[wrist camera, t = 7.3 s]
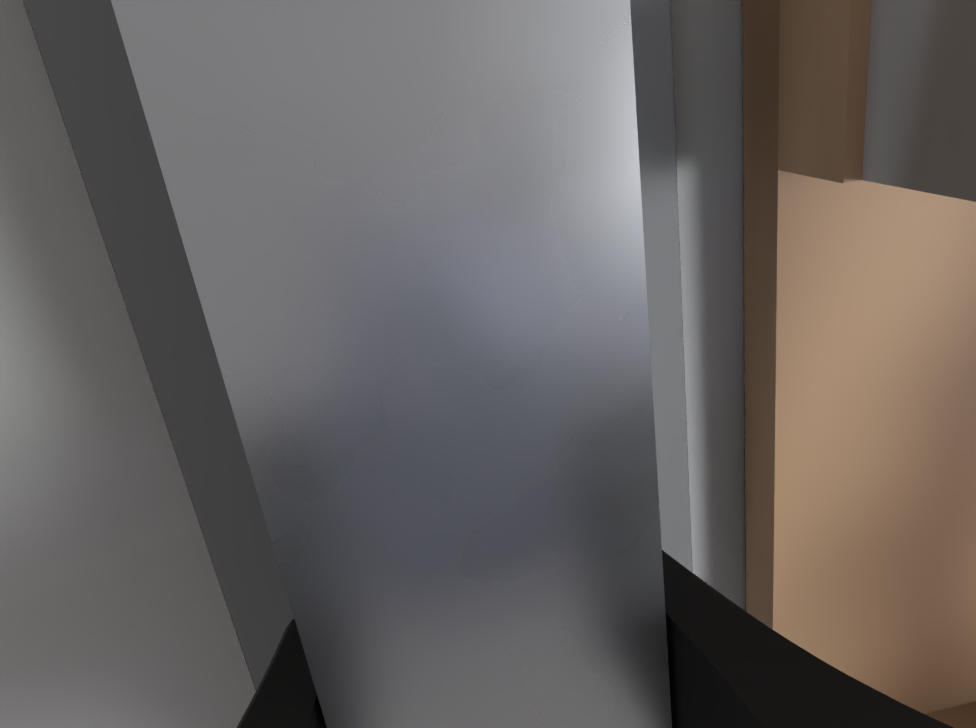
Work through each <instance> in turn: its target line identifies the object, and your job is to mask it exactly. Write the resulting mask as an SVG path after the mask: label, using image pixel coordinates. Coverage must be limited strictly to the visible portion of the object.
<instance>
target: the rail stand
mask: <svg viewBox="0 0 976 728" xmlns="http://www.w3.org/2000/svg"><path fill="white" fill-rule="evenodd" d="M742 16H743V180H744V344H745V508H746V612H748V613H749V614H751V615H752V616H753V617H755V618H756V619H758V620H759V621H761V622H762V623H764V624H765V625H766V626H768V627H770V628H771V629H773V630H774V631H776V632H777V633H779V634H780V635H782V636H783V637H785V638H786V639H788V640H790V641H791V642H793V643H794V644H796V645H798V646H799V647H801V648H803V649H804V650H806V651H808V652H809V653H811V654H812V655H814V656H816V657H817V658H819V659H821V660H822V661H824V662H826V663H827V664H829V665H831V666H833V667H835V668H836V669H838V670H840V671H842V672H843V673H845V674H847V675H849V676H851V677H853V678H854V679H856V680H858V681H860V682H862V683H864V684H866V685H868V686H870V687H872V688H874V689H875V690H877V691H879V692H881V693H883V694H885V695H887V696H889V697H891V698H893V699H895V700H896V701H898V702H900V703H902V704H904V705H906V706H909V707H911V708H913V709H915V710H917V711H919V712H921V713H923V714H925V715H927V716H929V717H932V718H934V719H936V720H938V721H940V722H943V723H945V724H947V725H949V726H952V727H954V728H976V0H742Z"/></svg>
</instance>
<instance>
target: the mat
mask: <svg viewBox="0 0 976 728" xmlns="http://www.w3.org/2000/svg"><path fill="white" fill-rule="evenodd" d="M23 2H24V5H25V8H26V11H27V14H28V17H29V20H30V23H31V26H32V29H33V32H34V35H35V38H36V41H37V44H38V47H39V50H40V53H41V55H42V58H43V61H44V64H45V67H46V70H47V73H48V76H49V79H50V82H51V85H52V88H53V91H54V94H55V97H56V100H57V103H58V106H59V109H60V112H61V115H62V118H63V121H64V124H65V127H66V130H67V133H68V136H69V138H70V141H71V144H72V147H73V150H74V153H75V156H76V159H77V162H78V165H79V168H80V171H81V174H82V177H83V180H84V183H85V186H86V189H87V192H88V195H89V198H90V201H91V204H92V207H93V210H94V213H95V216H96V218H97V221H98V224H99V227H100V230H101V233H102V236H103V239H104V242H105V245H106V248H107V251H108V254H109V257H110V260H111V263H112V266H113V269H114V272H115V275H116V278H117V281H118V284H119V287H120V290H121V293H122V296H123V299H124V301H125V304H126V307H127V310H128V313H129V316H130V319H131V322H132V325H133V328H134V331H135V334H136V337H137V340H138V343H139V346H140V349H141V352H142V355H143V358H144V361H145V364H146V367H147V370H148V373H149V376H150V379H151V381H152V384H153V387H154V390H155V393H156V396H157V399H158V402H159V405H160V408H161V411H162V414H163V417H164V420H165V423H166V426H167V429H168V432H169V435H170V438H171V441H172V444H173V447H174V450H175V453H176V456H177V459H178V462H179V464H180V467H181V470H182V473H183V476H184V479H185V482H186V485H187V488H188V491H189V494H190V497H191V500H192V503H193V506H194V509H195V512H196V515H197V518H198V521H199V524H200V527H201V530H202V533H203V536H204V539H205V542H206V544H207V547H208V550H209V553H210V556H211V559H212V562H213V565H214V568H215V571H216V574H217V577H218V580H219V583H220V586H221V589H222V592H223V595H224V598H225V601H226V604H227V607H228V610H229V613H230V616H231V619H232V622H233V625H234V627H235V630H236V633H237V636H238V639H239V642H240V645H241V648H242V651H243V654H244V657H245V660H246V663H247V666H248V669H249V672H250V675H251V678H252V681H253V684H254V687H255V690H256V691H257V689H258V687H259V685H260V683H261V681H262V679H263V677H264V675H265V672H266V670H267V668H268V666H269V664H270V662H271V660H272V658H273V656H274V653H275V651H276V649H277V647H278V645H279V643H280V640H281V638H282V636H283V634H284V631H285V629H286V627H287V626H288V625H289V623H290V622H291V621H292V620H293V619H294V615H293V612H292V609H291V605H290V602H289V599H288V595H287V592H286V589H285V585H284V582H283V578H282V575H281V572H280V568H279V565H278V562H277V558H276V555H275V551H274V548H273V545H272V541H271V538H270V535H269V531H268V528H267V525H266V521H265V518H264V514H263V511H262V508H261V504H260V501H259V498H258V494H257V491H256V488H255V484H254V481H253V477H252V474H251V471H250V467H249V464H248V461H247V457H246V454H245V450H244V447H243V444H242V440H241V437H240V434H239V430H238V427H237V424H236V420H235V417H234V413H233V410H232V407H231V403H230V400H229V397H228V393H227V390H226V386H225V383H224V380H223V376H222V373H221V370H220V366H219V363H218V360H217V356H216V353H215V349H214V346H213V343H212V339H211V336H210V333H209V329H208V326H207V323H206V319H205V316H204V312H203V309H202V306H201V302H200V299H199V296H198V292H197V289H196V285H195V282H194V279H193V275H192V272H191V269H190V265H189V262H188V259H187V255H186V252H185V248H184V245H183V242H182V238H181V235H180V232H179V228H178V225H177V221H176V218H175V215H174V211H173V208H172V205H171V201H170V198H169V195H168V191H167V188H166V184H165V181H164V178H163V174H162V171H161V168H160V164H159V161H158V158H157V154H156V151H155V147H154V144H153V141H152V137H151V134H150V131H149V127H148V124H147V120H146V117H145V114H144V110H143V107H142V104H141V100H140V97H139V94H138V90H137V87H136V83H135V80H134V77H133V73H132V70H131V67H130V63H129V60H128V56H127V53H126V50H125V46H124V43H123V40H122V36H121V33H120V30H119V26H118V23H117V19H116V16H115V13H114V9H113V6H112V3H111V0H23ZM630 9H631V26H632V43H633V60H634V78H635V95H636V112H637V130H638V147H639V164H640V181H641V199H642V216H643V233H644V250H645V268H646V285H647V302H648V320H649V337H650V354H651V371H652V389H653V406H654V423H655V440H656V458H657V475H658V492H659V510H660V527H661V544H662V550H663V551H664V552H666V553H667V554H668V555H670V556H671V557H672V558H674V559H675V560H676V561H678V562H679V563H680V564H681V565H683V566H684V567H685V568H687V569H688V570H689V571H691V572H692V548H691V522H690V497H689V472H688V446H687V421H686V396H685V370H684V345H683V320H682V294H681V269H680V244H679V218H678V193H677V168H676V142H675V117H674V92H673V66H672V41H671V16H670V0H630Z"/></svg>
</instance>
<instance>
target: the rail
mask: <svg viewBox="0 0 976 728" xmlns="http://www.w3.org/2000/svg"><path fill="white" fill-rule="evenodd" d="M111 3H112V6H113V9H114V13H115V16H116V19H117V23H118V26H119V30H120V33H121V36H122V40H123V43H124V46H125V50H126V53H127V56H128V60H129V63H130V67H131V70H132V73H133V77H134V80H135V83H136V87H137V90H138V94H139V97H140V100H141V104H142V107H143V110H144V114H145V117H146V120H147V124H148V127H149V131H150V134H151V137H152V141H153V144H154V147H155V151H156V154H157V158H158V161H159V164H160V168H161V171H162V174H163V178H164V181H165V184H166V188H167V191H168V195H169V198H170V201H171V205H172V208H173V211H174V215H175V218H176V221H177V225H178V228H179V232H180V235H181V238H182V242H183V245H184V248H185V252H186V255H187V259H188V262H189V265H190V269H191V272H192V275H193V279H194V282H195V285H196V289H197V292H198V296H199V299H200V302H201V306H202V309H203V312H204V316H205V319H206V323H207V326H208V329H209V333H210V336H211V339H212V343H213V346H214V349H215V353H216V356H217V360H218V363H219V366H220V370H221V373H222V376H223V380H224V383H225V386H226V390H227V393H228V397H229V400H230V403H231V407H232V410H233V413H234V417H235V420H236V424H237V427H238V430H239V434H240V437H241V440H242V444H243V447H244V450H245V454H246V457H247V461H248V464H249V467H250V471H251V474H252V477H253V481H254V484H255V488H256V491H257V494H258V498H259V501H260V504H261V508H262V511H263V514H264V518H265V521H266V525H267V528H268V531H269V535H270V538H271V541H272V545H273V548H274V551H275V555H276V558H277V562H278V565H279V568H280V572H281V575H282V578H283V582H284V585H285V589H286V592H287V595H288V599H289V602H290V605H291V609H292V612H293V615H294V619H295V622H296V626H297V629H298V632H299V636H300V639H301V642H302V646H303V649H304V653H305V656H306V659H307V663H308V666H309V669H310V673H311V676H312V679H313V683H314V686H315V690H316V693H317V696H318V700H319V703H320V706H321V710H322V713H323V716H324V720H325V723H326V727H327V728H672V717H671V700H670V682H669V665H668V648H667V631H666V613H665V596H664V579H663V561H662V544H661V527H660V510H659V492H658V475H657V458H656V440H655V423H654V406H653V389H652V371H651V354H650V337H649V320H648V302H647V285H646V268H645V250H644V233H643V216H642V199H641V181H640V164H639V147H638V130H637V112H636V95H635V78H634V60H633V43H632V26H631V9H630V0H111Z"/></svg>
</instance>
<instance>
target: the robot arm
mask: <svg viewBox="0 0 976 728" xmlns="http://www.w3.org/2000/svg"><path fill="white" fill-rule="evenodd" d="M662 561H663V579H664V596H665V613H666V631H667V648H668V665H669V682H670V700H671V717H672V728H954V727H952V726H949V725H947V724H945V723H943V722H940V721H938V720H936V719H934V718H932V717H929V716H927V715H925V714H923V713H921V712H919V711H917V710H915V709H913V708H911V707H909V706H906V705H904V704H902V703H900V702H898V701H896V700H895V699H893V698H891V697H889V696H887V695H885V694H883V693H881V692H879V691H877V690H875V689H874V688H872V687H870V686H868V685H866V684H864V683H862V682H860V681H858V680H856V679H854V678H853V677H851V676H849V675H847V674H845V673H843V672H842V671H840V670H838V669H836V668H835V667H833V666H831V665H829V664H827V663H826V662H824V661H822V660H821V659H819V658H817V657H816V656H814V655H812V654H811V653H809V652H808V651H806V650H804V649H803V648H801V647H799V646H798V645H796V644H794V643H793V642H791V641H790V640H788V639H786V638H785V637H783V636H782V635H780V634H779V633H777V632H776V631H774V630H773V629H771V628H770V627H768V626H766V625H765V624H764V623H762V622H761V621H759V620H758V619H756V618H755V617H753V616H752V615H751V614H749V613H748V612H746V611H745V610H743V609H742V608H740V607H739V606H737V605H736V604H735V603H733V602H732V601H730V600H729V599H727V598H726V597H725V596H723V595H722V594H720V593H719V592H718V591H716V590H715V589H714V588H712V587H711V586H710V585H708V584H707V583H705V582H704V581H703V580H701V579H700V578H699V577H697V576H696V575H695V574H693V573H692V572H691V571H689V570H688V569H687V568H685V567H684V566H683V565H681V564H680V563H679V562H678V561H676V560H675V559H674V558H672V557H671V556H670V555H668V554H667V553H666V552H664V551H663V550H662ZM237 728H327V727H326V723H325V720H324V716H323V713H322V710H321V706H320V703H319V700H318V696H317V693H316V690H315V686H314V683H313V679H312V676H311V673H310V669H309V666H308V663H307V659H306V656H305V653H304V649H303V646H302V642H301V639H300V636H299V632H298V629H297V626H296V622H295V619H293V620H292V621H291V622H290V623H289V625H288V626H287V627H286V629H285V631H284V634H283V636H282V638H281V640H280V643H279V645H278V647H277V649H276V651H275V653H274V656H273V658H272V660H271V662H270V664H269V666H268V668H267V670H266V672H265V675H264V677H263V679H262V681H261V683H260V685H259V687H258V689H257V691H256V693H255V695H254V697H253V699H252V701H251V702H250V704H249V706H248V708H247V710H246V712H245V714H244V715H243V717H242V719H241V721H240V723H239V725H238V727H237Z"/></svg>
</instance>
